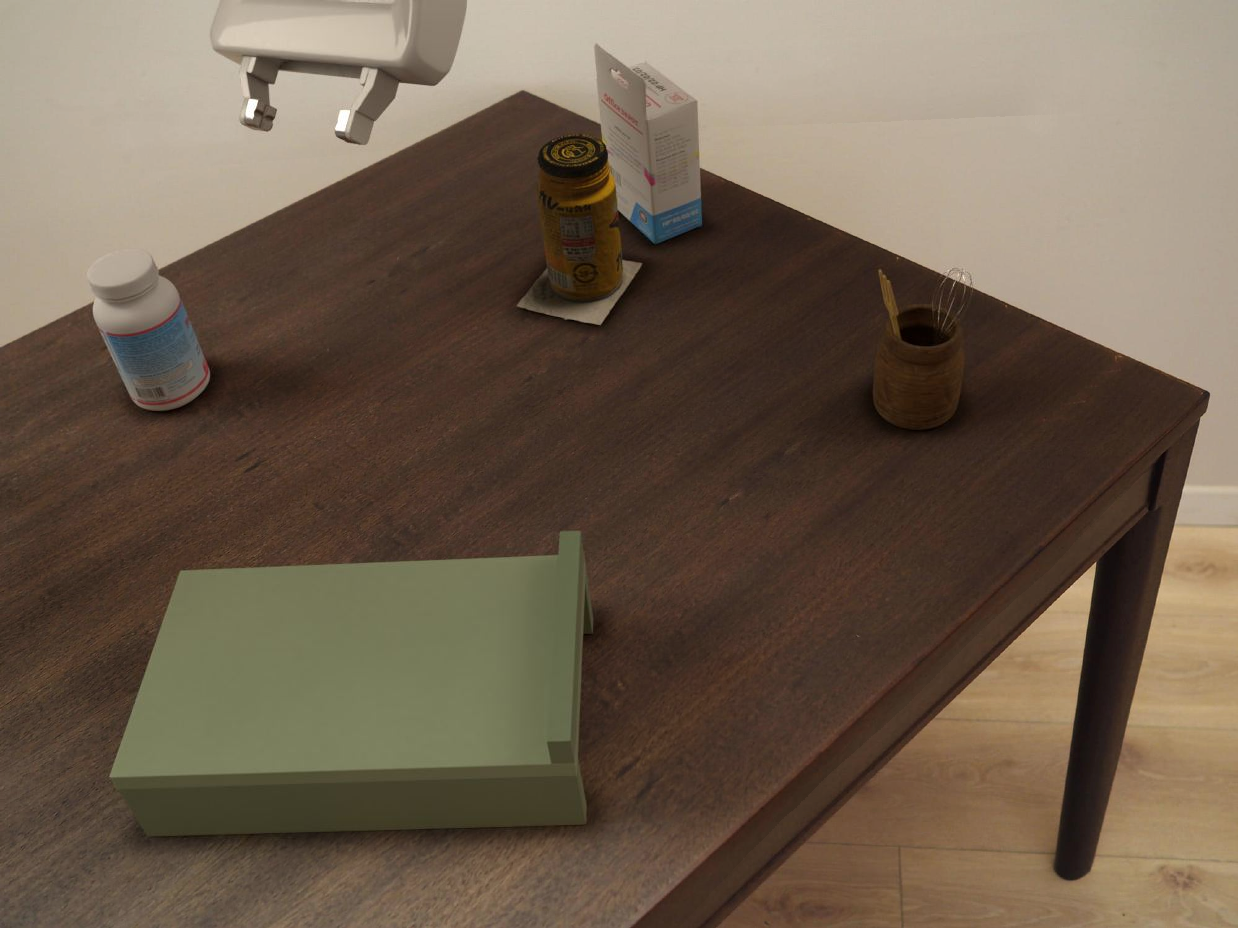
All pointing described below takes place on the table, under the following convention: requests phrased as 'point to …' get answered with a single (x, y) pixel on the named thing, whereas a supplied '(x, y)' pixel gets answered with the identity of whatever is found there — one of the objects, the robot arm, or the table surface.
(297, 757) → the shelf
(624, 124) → the ink box
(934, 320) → the utensil holder
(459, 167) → the table surface
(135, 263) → the pill bottle
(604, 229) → the condiment
